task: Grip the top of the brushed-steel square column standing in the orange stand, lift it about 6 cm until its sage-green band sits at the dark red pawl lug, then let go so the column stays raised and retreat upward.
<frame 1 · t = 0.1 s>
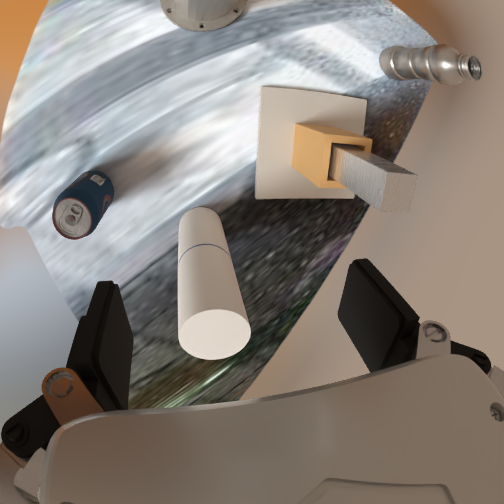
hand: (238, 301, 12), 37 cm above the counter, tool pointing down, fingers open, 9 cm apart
stand base: (311, 144, 46), on the counter
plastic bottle: (388, 63, 40), on the counter
steel column: (347, 163, 35), point 13 cm above the counter, slide at 0.0 cm
cylindrical container: (200, 226, 50), on the counter
soda can: (96, 188, 43), on the counter
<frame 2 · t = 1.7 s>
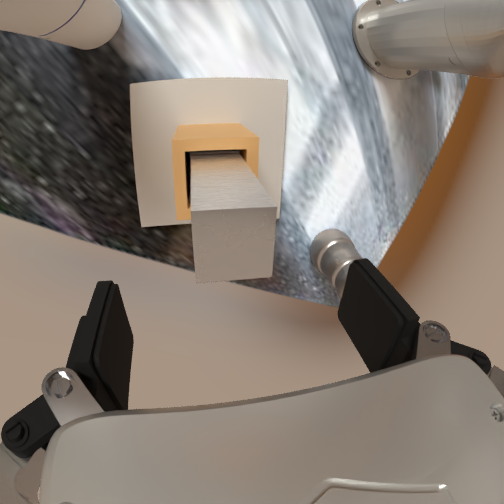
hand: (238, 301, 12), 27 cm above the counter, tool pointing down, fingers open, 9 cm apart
stand base: (208, 150, 34), on the counter
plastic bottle: (325, 242, 45), on the counter
steel column: (216, 180, 24), point 12 cm above the counter, slide at 0.0 cm
cylindrical container: (94, 23, 23), on the counter
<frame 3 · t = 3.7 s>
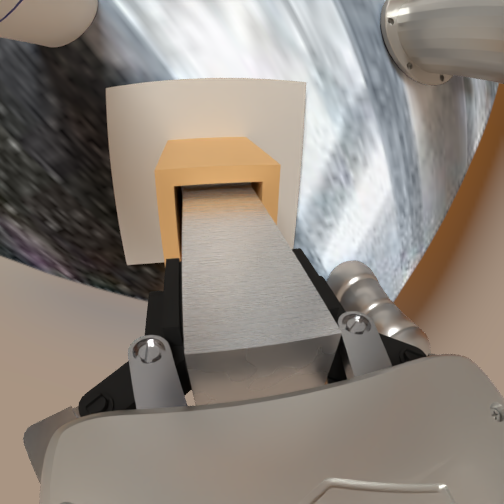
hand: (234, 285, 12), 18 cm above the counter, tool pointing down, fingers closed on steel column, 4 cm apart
stand base: (206, 171, 28), on the counter
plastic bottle: (342, 274, 38), on the counter
steel column: (219, 226, 17), point 12 cm above the counter, slide at 0.0 cm, touching gripper
cylindrical container: (64, 15, 16), on the counter
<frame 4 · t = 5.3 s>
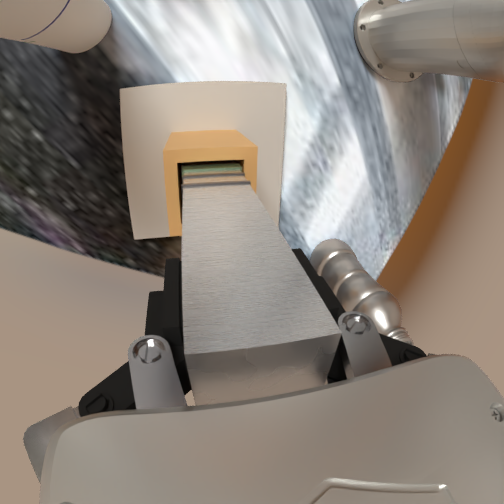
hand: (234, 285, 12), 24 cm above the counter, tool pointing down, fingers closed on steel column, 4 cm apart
stand base: (203, 158, 33), on the counter
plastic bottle: (325, 252, 43), on the counter
steel column: (219, 226, 17), point 18 cm above the counter, slide at 5.9 cm, touching gripper
cylindrical container: (83, 25, 21), on the counter
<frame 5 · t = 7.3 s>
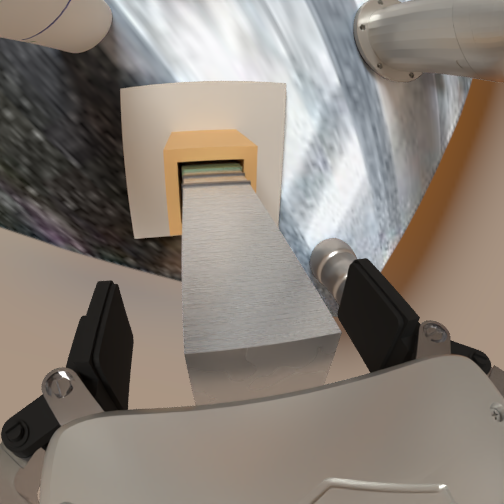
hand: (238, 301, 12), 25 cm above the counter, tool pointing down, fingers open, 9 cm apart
stand base: (203, 158, 33), on the counter
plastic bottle: (325, 252, 43), on the counter
steel column: (219, 226, 17), point 18 cm above the counter, slide at 6.0 cm
cylindrical container: (83, 25, 21), on the counter
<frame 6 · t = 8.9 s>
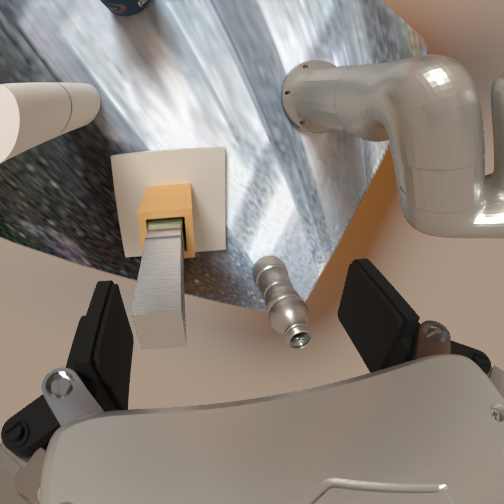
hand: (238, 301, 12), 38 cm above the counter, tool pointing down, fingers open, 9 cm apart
stand base: (170, 202, 48), on the counter
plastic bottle: (266, 265, 58), on the counter
steel column: (164, 261, 32), point 18 cm above the counter, slide at 6.0 cm
cylindrical container: (80, 105, 36), on the counter
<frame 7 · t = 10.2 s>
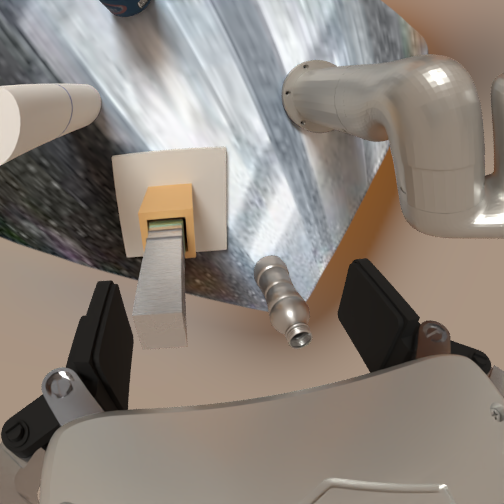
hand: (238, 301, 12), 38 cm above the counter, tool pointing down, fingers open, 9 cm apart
stand base: (171, 202, 48), on the counter
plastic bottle: (267, 265, 58), on the counter
steel column: (165, 261, 32), point 18 cm above the counter, slide at 6.0 cm
cylindrical container: (81, 105, 37), on the counter
soda can: (131, 0, 30), on the counter
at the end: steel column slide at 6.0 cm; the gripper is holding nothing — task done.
